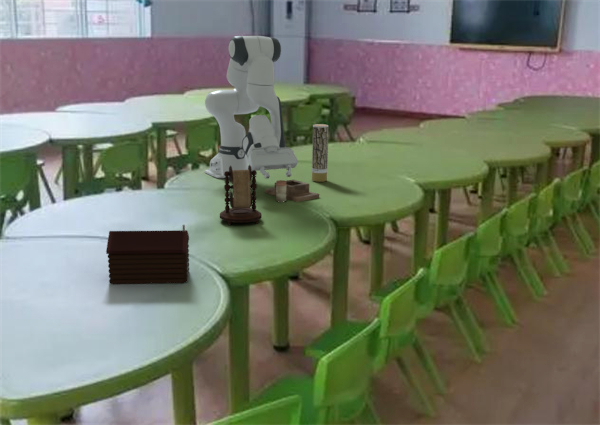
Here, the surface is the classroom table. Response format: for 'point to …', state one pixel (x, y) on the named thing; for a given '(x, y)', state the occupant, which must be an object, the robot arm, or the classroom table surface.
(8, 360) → the classroom table surface
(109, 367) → the classroom table surface
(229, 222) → the scroll
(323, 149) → the paper tube
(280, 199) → the peg
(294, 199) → the socket board
